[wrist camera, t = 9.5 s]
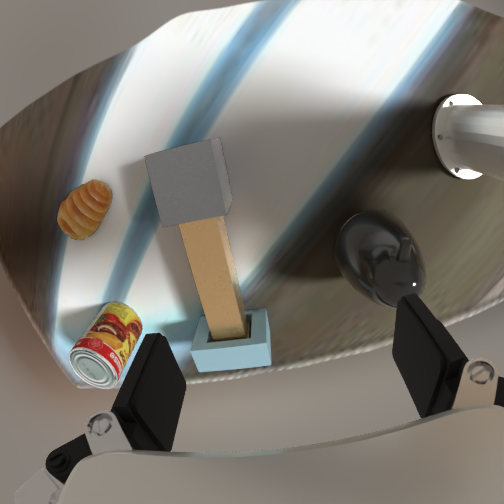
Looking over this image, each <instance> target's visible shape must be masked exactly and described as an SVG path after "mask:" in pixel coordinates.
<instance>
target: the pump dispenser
mask: <svg viewBox="0 0 504 504" xmlns="http://www.w3.org/2000/svg"><path fill="white" fill-rule="evenodd" d="M334 257H335V262H336V265H337V267H338V269H339V271H340V273H341V274H342V276H343V277H344V278H345V279H346V281H347V282H348V283H349V284H350V285H351V286H352V287H353V288H354V289H355V290H356V291H358V292H359V293H360V294H361V295H363V296H364V297H366V298H367V299H369V300H370V301H372V302H374V303H376V304H378V305H381V306H383V307H387V308H392V309H397V302H398V300H401V297H402V296H404V295H408V294H412V293H416V294H417V295H418V296H419V298H420V297H421V296H422V294H423V292H424V289H425V285H426V267H425V262H424V259H423V256H422V253H421V251H420V248H419V246H418V244H417V242H416V240H415V238H414V236H413V235H412V233H411V232H410V230H409V229H408V228H407V227H406V225H405V224H404V223H403V222H402V221H401V220H400V219H399V218H398V217H396V216H395V215H394V214H392V213H390V212H388V211H385V210H379V209H373V210H367V211H363V212H361V213H358V214H356V215H354V216H353V217H351V218H350V219H349V220H348V221H347V222H346V223H345V224H344V225H343V227H342V228H341V230H340V232H339V234H338V236H337V239H336V242H335V247H334Z"/></svg>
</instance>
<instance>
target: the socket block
mask: <svg viewBox="0 0 504 504" xmlns="http://www.w3.org/2000/svg"><path fill="white" fill-rule="evenodd" d="M245 312H246V316H247V320H250V323H251V338H247V339H238V340H230V341H221V342H213V337H212V334H211V331H210V328H209V325H208V322H207V319H206V316H201V317H200V319H199V322H198V326H197V329H196V333H195V336H194V340H193V343H192V347H191V350H190V352H191V354H192V356H193V359H194V361H195V364H196V366H197V369H198V371H199V372H207V371H220V370H231V369H241V368H251V367H259V366H267V365H271V346H270V328H269V323H268V318H267V312H266V308H262V309H255V310H248V311H245Z"/></svg>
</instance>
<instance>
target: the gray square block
mask: <svg viewBox="0 0 504 504" xmlns="http://www.w3.org/2000/svg"><path fill="white" fill-rule="evenodd" d="M144 157H145V161H146V165H147V170H148V174H149V178H150V182H151V186H152V190H153V194H154V198H155V201H156V205H157V209H158V213H159V216H160V220H161V223H162V227H168V226H172V225H177V224H183V223H188V222H193V221H198V220H203V219H208V218H214V217H219V216H225V215H227V214H228V211H229V208H230V206H231V203H232V200H233V198H232V193H231V189H230V184H229V179H228V174H227V169H226V164H225V160H224V155H223V150H222V145H221V140H220V138H214V139H209V140H204V141H200V142H196V143H192V144H187V145H183V146H179V147H175V148H172V149H168V150H164V151H160V152H157V153H153V154H150V155H146V156H144Z"/></svg>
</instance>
